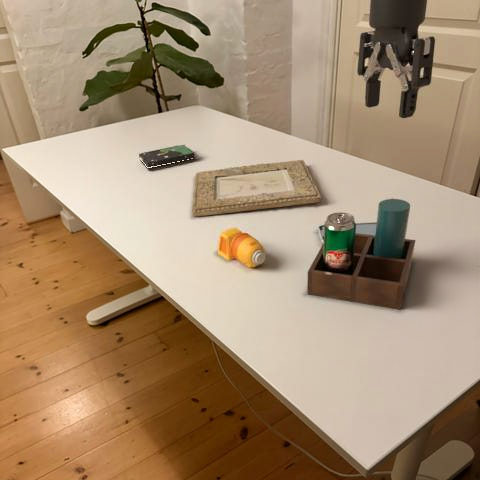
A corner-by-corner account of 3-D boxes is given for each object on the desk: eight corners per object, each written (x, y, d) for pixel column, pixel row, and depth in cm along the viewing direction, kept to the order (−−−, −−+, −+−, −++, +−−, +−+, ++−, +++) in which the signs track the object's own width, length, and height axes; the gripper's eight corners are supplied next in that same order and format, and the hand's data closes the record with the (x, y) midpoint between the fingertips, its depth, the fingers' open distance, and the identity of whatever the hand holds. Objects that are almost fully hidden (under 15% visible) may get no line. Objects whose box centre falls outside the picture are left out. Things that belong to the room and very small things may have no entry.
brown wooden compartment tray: (411, 262, 85) (415, 239, 82) (400, 309, 74) (403, 285, 72) (329, 251, 91) (330, 230, 88) (307, 294, 80) (307, 271, 77)
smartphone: (399, 238, 91) (322, 242, 91) (398, 242, 92) (322, 246, 92) (389, 221, 97) (317, 225, 97) (388, 225, 97) (317, 229, 98)
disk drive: (149, 172, 135) (196, 161, 139) (146, 163, 133) (194, 151, 137) (140, 162, 143) (185, 152, 147) (138, 153, 141) (183, 143, 145)
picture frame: (196, 177, 129) (194, 168, 127) (303, 165, 128) (303, 155, 127) (193, 219, 108) (191, 209, 106) (322, 204, 107) (322, 193, 106)
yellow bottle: (273, 266, 88) (237, 243, 96) (272, 241, 85) (235, 219, 93) (250, 277, 86) (215, 252, 94) (248, 251, 82) (212, 228, 90)
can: (402, 262, 84) (412, 200, 77) (398, 276, 81) (408, 212, 73) (374, 258, 86) (381, 197, 79) (369, 272, 83) (376, 209, 75)
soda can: (321, 288, 79) (323, 225, 72) (322, 273, 83) (325, 211, 76) (351, 290, 78) (357, 225, 71) (351, 274, 82) (356, 211, 75)
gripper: (461, -20, 58) (439, 116, 68) (390, -19, 69) (380, 98, 79) (412, -12, 56) (397, 126, 66) (346, -12, 67) (342, 107, 77)
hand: (388, 111), depth 72 cm, fingers open, 8 cm apart
